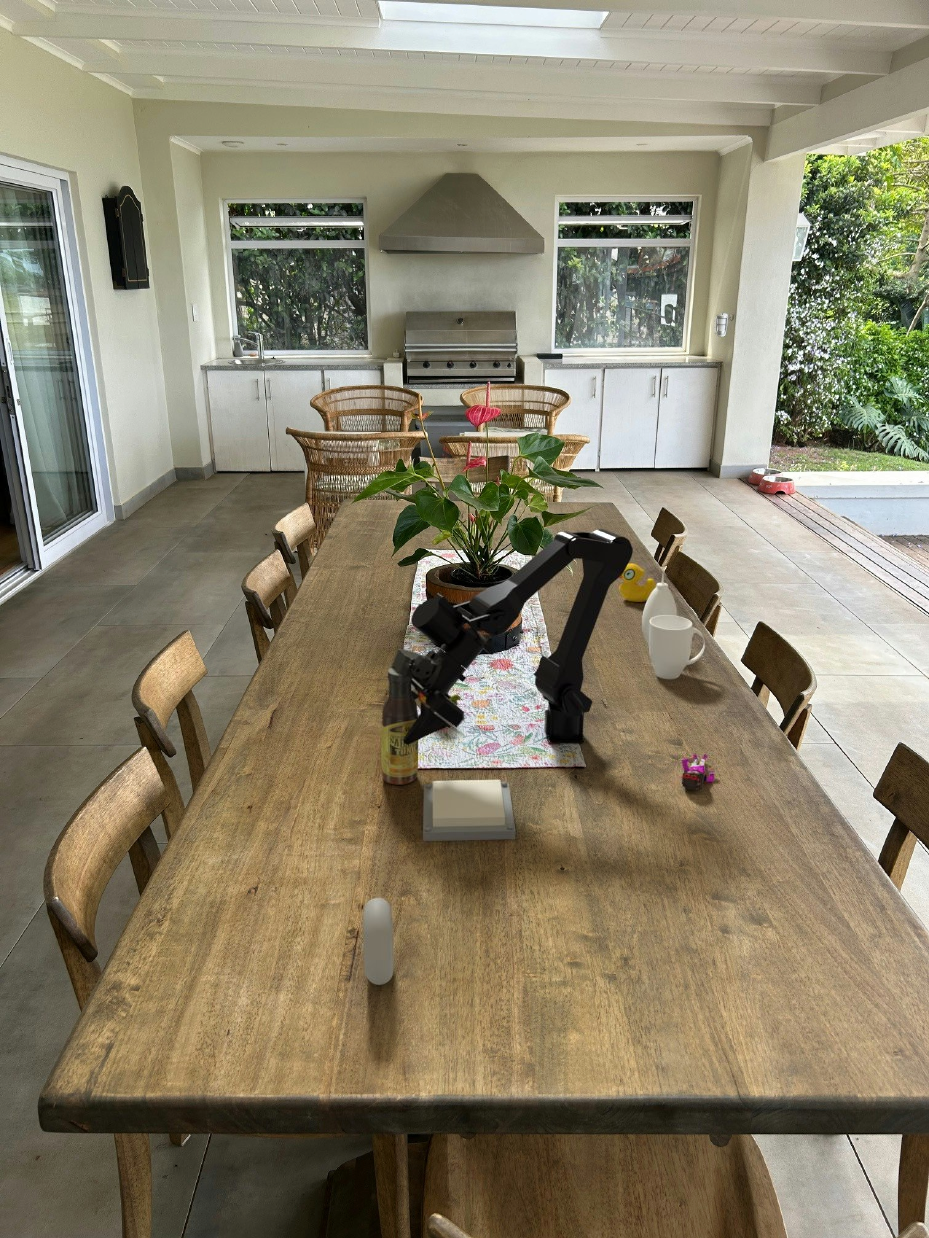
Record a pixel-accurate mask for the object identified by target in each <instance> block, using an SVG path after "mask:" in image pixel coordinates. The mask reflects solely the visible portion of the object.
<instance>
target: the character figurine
mask: <svg viewBox="0 0 929 1238" xmlns="http://www.w3.org/2000/svg"><path fill="white" fill-rule="evenodd" d="M707 758H708V755H707V754H705V753H704V754H703V756H702V758H701V760H700V762H699V760H698V755H697V754H696V753H695V754H693V755H692V756H690V757H687V758H684V759H681V764H682V768H683V772H682V778H681V779H682V780H681V784H682V787H683V788H685V789H689V790H693V791H695V790H699V789H701V788H702V787H703V784H704V783H714V782H715V776H716V768H715V767H710V768H708V775H709V776H708V775H707V774H706V767H705V764H706V763H705V761H706V760H707ZM688 763H689V764H691V766H690V767H689V764H688ZM698 763H699V764H698Z"/></svg>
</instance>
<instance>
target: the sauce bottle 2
mask: <svg viewBox="0 0 929 1238" xmlns="http://www.w3.org/2000/svg"><path fill="white" fill-rule="evenodd" d="M664 581H665V573H664V572H662V575H661V582H657V583H656V588H655V589H654V590H653V591H652V593H651V594H650V596H649V598H648V600H647V601H645V602H646V603H645V605H644V608H643V611H642V612H643V613H642V617H641V628H642V634H643V637H644V638H645V639H644V640H645V642H647V644H649V621H650V619H651V618H653V617H655V616H661V615H673V616H678V609H677V604H676V601H675V598H674V595H673V593H672V592H671V590H670V589H669V584H668V583H666V582H664Z"/></svg>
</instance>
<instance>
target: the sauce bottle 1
mask: <svg viewBox="0 0 929 1238" xmlns="http://www.w3.org/2000/svg"><path fill="white" fill-rule="evenodd" d="M412 678H413V677H411V676H409V677H407V676H404V675H401V674H400V673H399V672H398V670H397V669H396V668H393V667H392V668H391V667H389V668H388V670H387V679H388V697H387V698H386V699H385V701H384V704H383V706H382V709H381V756H380V757H381V758H380V760H381V774H382V779H383V780H384V781H385V782H386V783H387V784H390V785H396V786H401V785H408V784H410V783H412V782H413V781H415V780H416V778H417V775H418V770H419V740H417V741H415V742H413V743H411V744H409V745H406V744H405V743H404V742H403V740H404V738H405V736H406V734H407V733H408V731H409V730H410V729H411V727H412V726H413V724H414V723H415V721H416V720H417V718H418V717H419V713H418V706H417V704H416V701H415V700H414V698H413V696H412V690H411V680H412Z"/></svg>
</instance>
